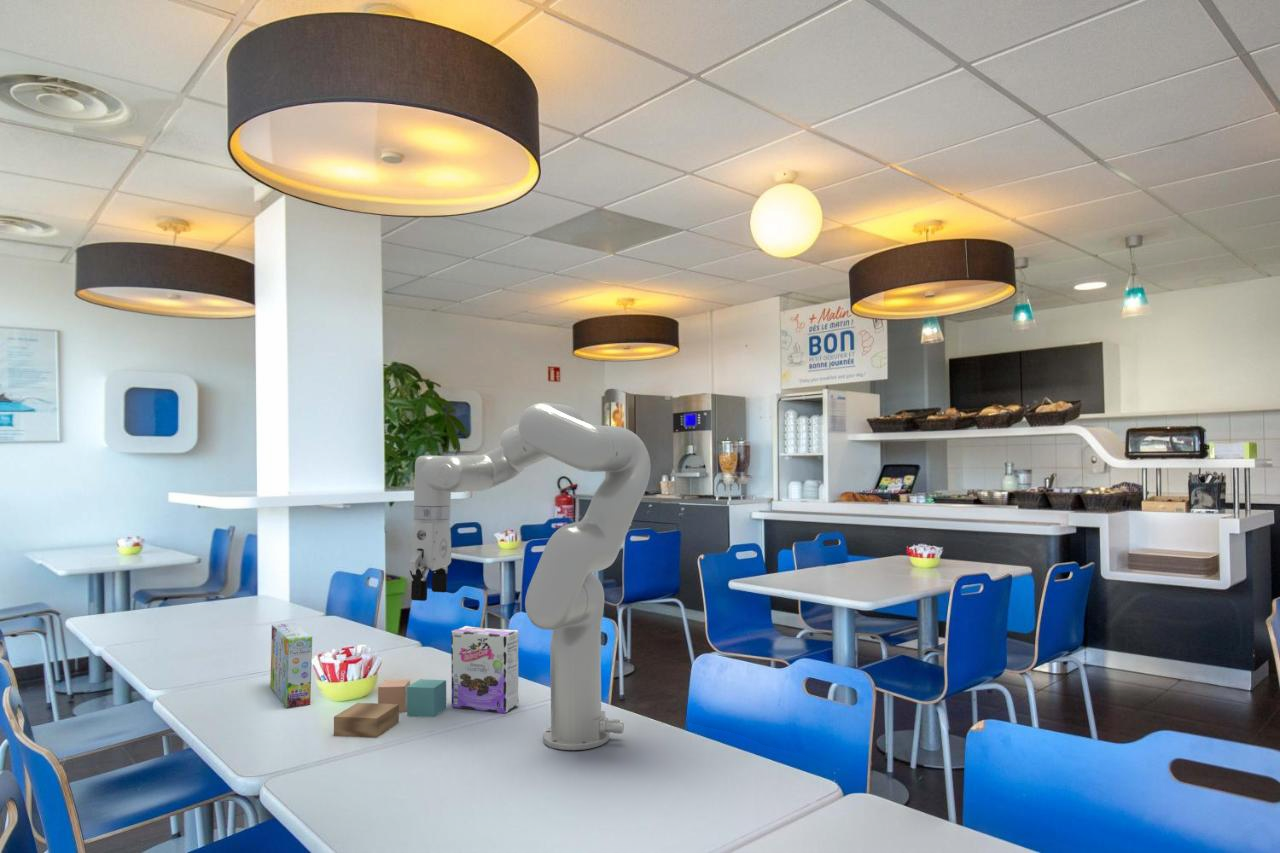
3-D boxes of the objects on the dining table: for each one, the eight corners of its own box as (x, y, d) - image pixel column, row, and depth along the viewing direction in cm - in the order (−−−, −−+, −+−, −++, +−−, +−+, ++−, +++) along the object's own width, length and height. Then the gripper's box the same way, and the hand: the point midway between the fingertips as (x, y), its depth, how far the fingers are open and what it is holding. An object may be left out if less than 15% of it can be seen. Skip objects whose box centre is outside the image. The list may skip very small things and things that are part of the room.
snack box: (313, 704, 174) (313, 635, 175) (285, 709, 171) (286, 639, 172) (293, 683, 192) (294, 620, 193) (268, 687, 189) (269, 623, 189)
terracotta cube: (410, 704, 173) (410, 679, 173) (404, 712, 168) (404, 686, 168) (384, 705, 173) (384, 680, 173) (378, 713, 167) (378, 687, 168)
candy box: (450, 707, 171) (449, 630, 171) (465, 699, 176) (465, 625, 177) (505, 714, 165) (504, 634, 166) (519, 706, 171) (519, 629, 172)
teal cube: (446, 708, 170) (446, 680, 171) (434, 717, 164) (433, 687, 165) (420, 707, 171) (420, 679, 172) (407, 716, 165) (407, 686, 166)
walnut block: (398, 724, 161) (398, 704, 161) (376, 739, 152) (376, 718, 152) (357, 722, 162) (357, 702, 163) (333, 737, 154) (333, 716, 154)
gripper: (431, 518, 157) (428, 604, 157) (464, 511, 174) (462, 589, 174) (395, 516, 159) (393, 602, 158) (432, 510, 176) (430, 588, 175)
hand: (429, 595), depth 166 cm, fingers open, 9 cm apart
